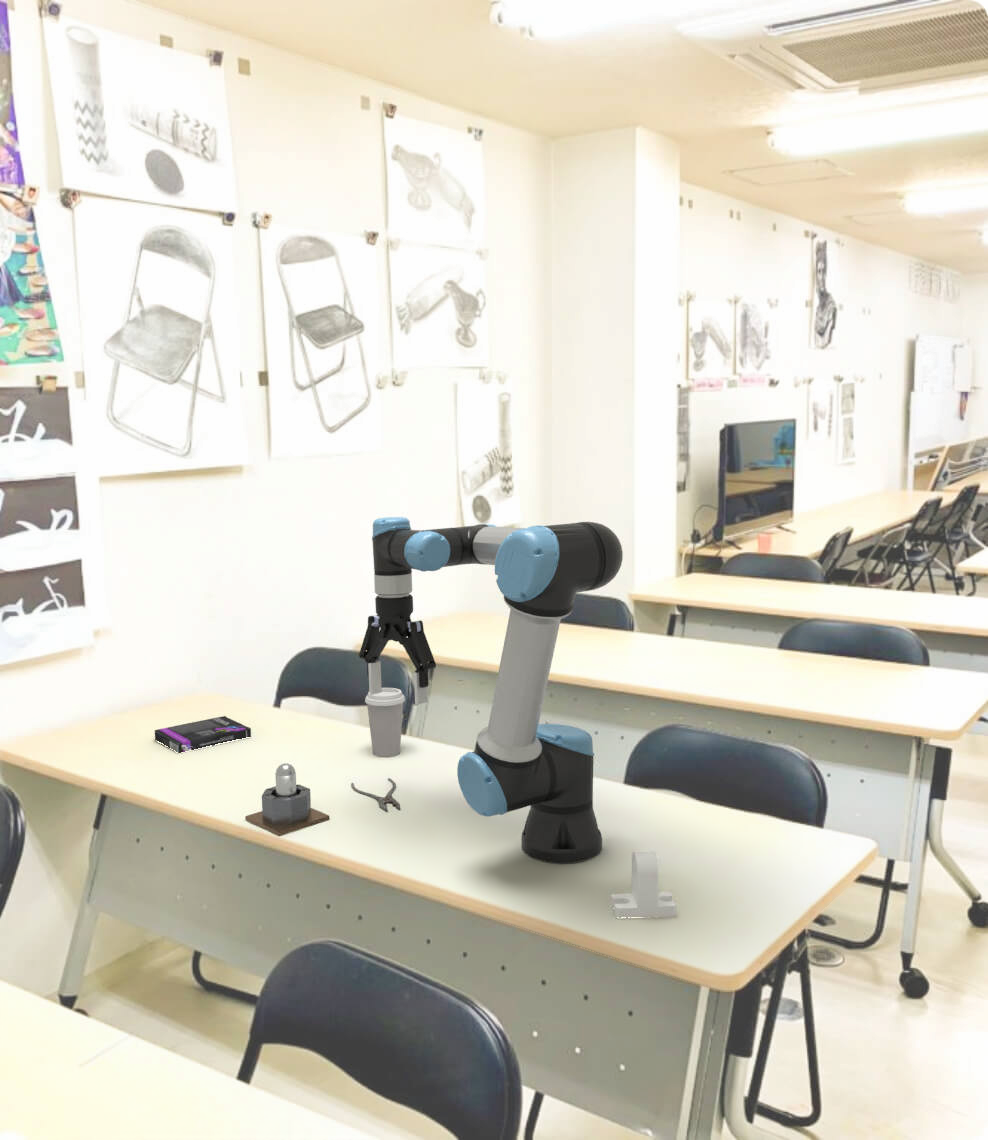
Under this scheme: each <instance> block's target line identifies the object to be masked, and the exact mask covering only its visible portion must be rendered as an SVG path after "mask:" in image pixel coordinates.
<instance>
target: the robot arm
mask: <svg viewBox="0 0 988 1140" xmlns="http://www.w3.org/2000/svg"><path fill="white" fill-rule="evenodd" d="M371 541H372V555H373V570H374V576H373V577H374V578H373V579H374V594H376V597H375V599H374V601H375V603H374V604H375V613H376V614H374V615H368V617H367V628H366V631H365V634H364V638H363V640H362V643H361V647H360V651H359V653H358V656H359V658H360V659H362V660H363V659H364V661H365V663H366V674H367V677H368V686H369V688H368V689H369V691H368V692H370V694H371V695H373V694H377V693H381V692H382V688H383V687H382V667H381V666H382V664H381V661H380V656H381V654H382V652H383V650H384V649H385V647H386V646H387V644H388V643H389V641H393V642H396V643H397V642H398V643H399V645H401V646H403V649H405V652H406V654H407V656H408V657H409V659H410V661H411V663H412V664H413V666H414V668H415V671H413V680H414V681H413V682H414V688H413V689H414V704H415V705H421V704H424V703H428V688H429V685H430V684H429V670H432V669H436V667H437V664H436V660H435V659H434V655H433V653H432V650H431V647H430V645H429V642H428V639H427V637H426V634H425V630H424V629H425V628H424V623H423V621H422V620H421V619H420V620H415V621H412V619H411V615H412V613H413V612H414V597H413V595H412V594H411V593H413V575H412V572H413V570H417V571H420V572H436V571H439V570H441V569H442V568H445V567H454V566H462V565H471V564H472V565H484V566H486V565H487V566H489V565H490V566H494V574H495V575H496V576H497V578H496V581H495V582H496V585H497V588H498V589H499V591H500V593H501V594H502V595H503V601H504V603H505V604H506V605H507V606H508V608H509V609H510V612H509V614H508V615H509V616H508V620H507V626H506V631H505V637H504V641H503V646H502V651H501V652H502V653H501V657H500V662H499V667H498V673H497V678H496V683H495V689H494V693H493V699H492V704H491V708H490V714H489V719H488V724H487V726H486V727H484V728H481V730H480V731H479V732H478V733H477V737H476V742H475V747H474V751H467V752H466V753H465V754H463V755H462V756H460V758H459V759H458V763H457V767H456V769H457V772H456V773H457V779H458V780H457V781H458V785H459V788H460V791H461V792H462V796H463V797H464V799H465V801H466V802H467V804H468V806H469V807H470V808H471V809H472V810H473V811H474V812H475V813H477V814H478V815H480V816H481V817H494V816H498V815H499V816H501V815H502V816H503V815H505V814H507V813H510V812H514V811H516V810H520V809H523V808H527V807H530V809H529V811H528V815H527V817H526V820H525V824H524V828H523V830H522V832H521V839H520V840H521V843H520V844H521V850H522V851H523V853H524V854H525V855H526V856H527V857H528V856H529V857H530V858H533V859H535V860H538V861H541V862H547V863H555V864H556V863H557V864H571V863H580V862H584V861H588V860H590V859H593V858H595V857H596V856H598V855H600V853H601V852H602V850H603V836H602V832H601V830H600V829H599V825H598V821H597V817H596V814H595V811H594V757H595V752H594V745H593V743H594V742H593V738H592V736H591V734H590V733H589V732H588V731H586V730H584V729H582V728H579V727H577V726H576V727H575V726H572V725H566V724H560V723H559V724H558V723H540V718H541V713H542V709H543V705H544V699H545V695H546V691H547V686H548V682H549V681H548V680H549V677H550V671H551V667H552V663H553V662H552V661H553V657H554V653H555V648H556V644H557V639H558V634H559V630H560V625H561V620H562V619H565V618H567V617H568V616H570V614H571V613H572V611H573V607H574V602H575V598H576V595H577V594H578V593H583V592H589V591H595V590H599V589H600V588H603V587H605V586H607V584H609V583H611V581H613V579H615V577H616V576H617V574H618V573H619V571H620V569H621V566H622V563H623V560H624V559H623V558H624V557H623V555H624V554H623V552H624V551H623V546H622V544H621V542H620V539H619V538H618V536H617V535H616V533H615V532H614V531H613V530H612V529H611V528H609V527H608V526H606V525H604V524H601V523H598V522H594V521H580V522H572V523H561V524H551V525H542V524H541V525H532V526H531V525H530V526H529V527H513V526H511V527H510V526H509V527H507V526H497V525H495V524H486V523H482V524H480V523H479V524H474V525H467V526H459V527H458V526H457V527H446V528H444V527H443V528H432V529H431V528H430V529H423V530H418V529H412V528H411V524H410V520H409V519H408V518H407V517H403V516H402V517H401V516H390V517H389V516H388V517H387V516H386V517H380V518H376V519H374V521H373V523H372V536H371Z"/></svg>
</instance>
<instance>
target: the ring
mask: <svg viewBox="0 0 988 1140" xmlns="http://www.w3.org/2000/svg"><path fill="white" fill-rule="evenodd" d="M296 792H297V795H296V796H292V797H276V785H275V786H273V787H268V788H265V790H264V791H263V793H262V795H261V811H262V814H263V820H264V821H267V822H269V823H271V824H273V825H292V824H295V823H298V822H301V821H304V820H308V818H309V816H310V814H311V808H312V807H311V806H312V804H311V799H312V798H311V788H309V787H306V786H304V785H302V784H296Z"/></svg>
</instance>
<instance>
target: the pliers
mask: <svg viewBox="0 0 988 1140" xmlns="http://www.w3.org/2000/svg"><path fill="white" fill-rule="evenodd" d="M387 781H388V782H390V783H391V785H392V787H391V789H390V790H388V792H387V793H386V794H385V796H384V797H383V796H379V795H376V794H373V793H369V792H365V791H362V790H359V789H358V788H356V787H355V783H353V782H352V783H350V787H351V789H352V790H353V791H354V792H356V793H358V794H360V795H363V796H365V797H368V798H371V799H374V800H375V801H376V802H377V804H378V808H379V809H380V810H382V811H384V812H385V813H388V811H389V809H388V805H392V806H391V807H395V808H396V810H398V811H401V810H402V809H401V804H400V802H398V801H397V799H395V797H393V794H394V792H395V791H396V789H397V784H396V782H395V781H394V780H393V779H392V778H390V777H388V778H387Z"/></svg>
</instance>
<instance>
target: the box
mask: <svg viewBox="0 0 988 1140" xmlns="http://www.w3.org/2000/svg"><path fill="white" fill-rule="evenodd" d="M246 737H251V738H252V728H251V727H249V726H246V725H244V724H242V723H241V722H237V721H236V720H233V719H231V718H229V717H227V716H226V715H223V716H218V717H214V718H213V717H212V718H207V719H204V720H198V721H192V722H189V723H183V724H178V725H173V726H169V727H163V728H159V729H154V741H155V740H157V741H159V742H161V743H163V744H164V745H166V746H168V747H169V748H171V749H173V750H175V751H176V752H178V753H181V752H185V751H189V750H194V749H198V748H202V747H206V746H210V745H215V744H218V743H223V742H227V741H232V740H236V739H242V738H246ZM164 745H163V746H164ZM169 748H168V749H169ZM171 749H170V750H171ZM173 750H172V751H173ZM198 750H199V749H198ZM175 751H174V752H175ZM194 751H195V750H194ZM176 752H175V753H176ZM189 752H190V751H189ZM178 753H177V754H178ZM185 753H186V752H185ZM181 754H182V753H181Z"/></svg>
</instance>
